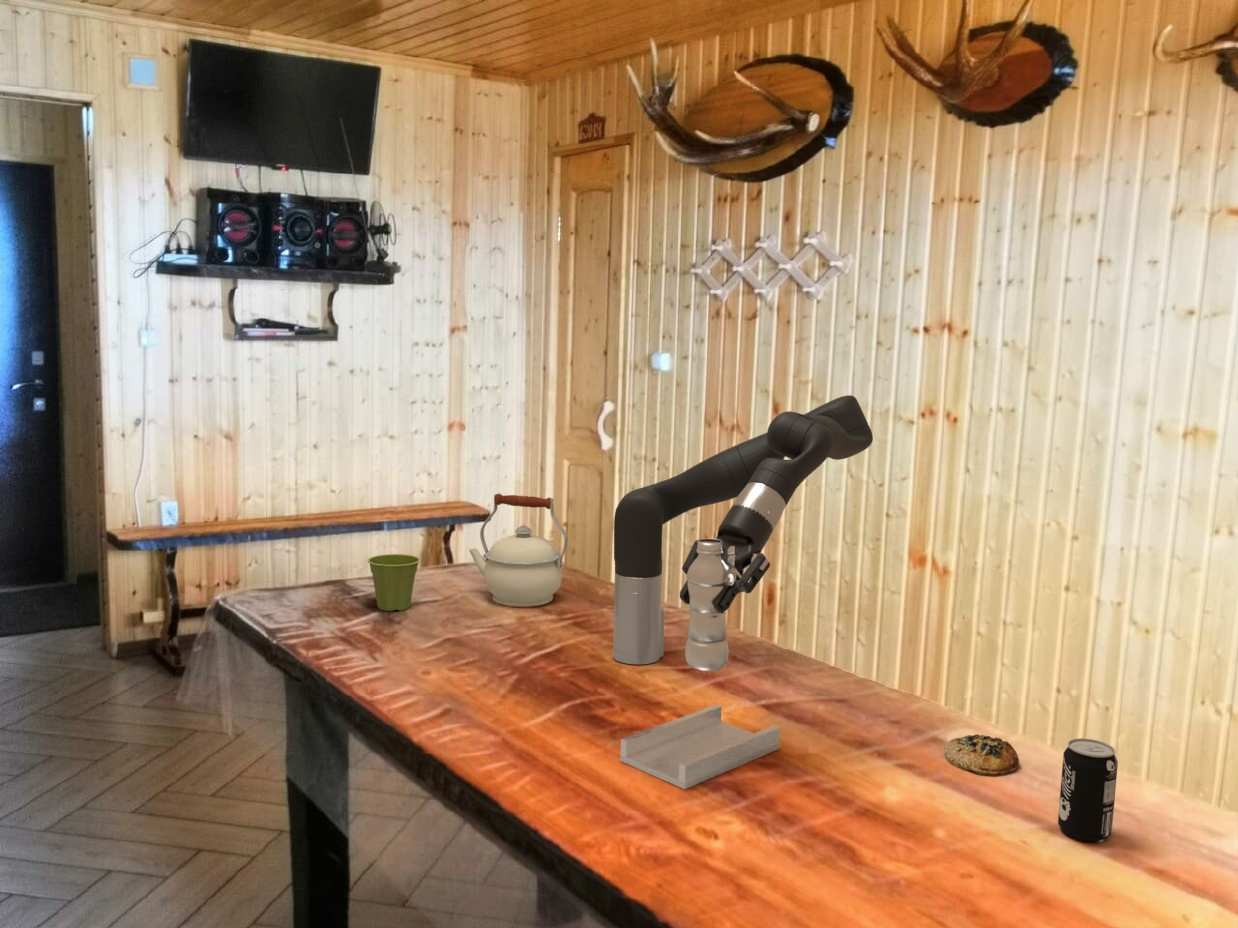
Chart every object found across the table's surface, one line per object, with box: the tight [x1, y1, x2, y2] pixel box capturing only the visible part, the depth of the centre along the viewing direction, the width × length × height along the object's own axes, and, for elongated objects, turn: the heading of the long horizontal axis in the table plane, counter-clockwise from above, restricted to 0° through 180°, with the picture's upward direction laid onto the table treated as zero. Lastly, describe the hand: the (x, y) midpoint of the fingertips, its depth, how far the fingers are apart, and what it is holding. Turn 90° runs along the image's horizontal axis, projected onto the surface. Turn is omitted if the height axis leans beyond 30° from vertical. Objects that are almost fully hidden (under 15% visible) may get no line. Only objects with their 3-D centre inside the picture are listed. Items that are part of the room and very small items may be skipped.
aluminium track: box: [619, 704, 781, 790], centre depth 166 cm, size 22×13×4 cm, turn 134°
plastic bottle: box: [684, 537, 730, 672], centre depth 163 cm, size 6×7×20 cm
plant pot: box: [366, 553, 422, 612], centre depth 244 cm, size 12×12×11 cm
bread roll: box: [943, 734, 1020, 776], centre depth 165 cm, size 11×11×5 cm
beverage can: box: [1057, 738, 1119, 843], centre depth 142 cm, size 7×7×12 cm
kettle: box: [468, 493, 569, 608], centre depth 253 cm, size 25×18×25 cm
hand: (700, 605), depth 162 cm, fingers closed on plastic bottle, 6 cm apart
